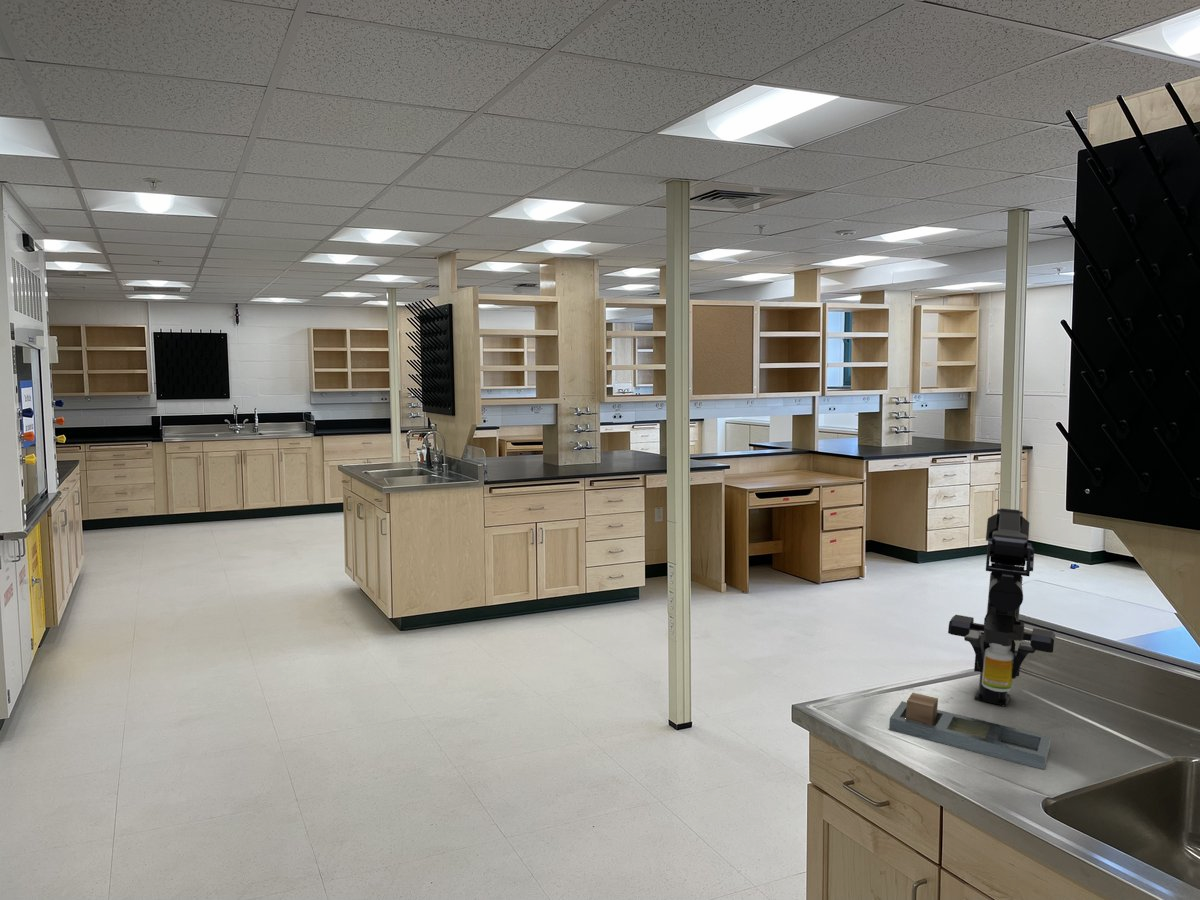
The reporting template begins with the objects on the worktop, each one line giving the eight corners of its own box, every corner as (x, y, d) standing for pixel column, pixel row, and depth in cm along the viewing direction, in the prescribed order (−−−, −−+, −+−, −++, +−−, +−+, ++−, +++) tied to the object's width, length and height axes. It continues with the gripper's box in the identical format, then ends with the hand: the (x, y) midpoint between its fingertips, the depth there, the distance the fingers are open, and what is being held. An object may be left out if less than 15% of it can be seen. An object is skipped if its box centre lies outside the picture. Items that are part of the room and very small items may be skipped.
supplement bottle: (1014, 693, 168) (1019, 645, 166) (985, 691, 168) (989, 643, 167) (1006, 683, 173) (1011, 636, 172) (978, 680, 174) (982, 634, 173)
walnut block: (910, 720, 179) (912, 692, 178) (935, 726, 176) (938, 698, 175) (904, 728, 174) (907, 700, 174) (930, 735, 172) (933, 706, 171)
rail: (900, 712, 182) (901, 701, 182) (1049, 749, 167) (1050, 736, 167) (889, 729, 174) (890, 717, 173) (1044, 769, 159) (1045, 756, 158)
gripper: (946, 599, 166) (940, 676, 168) (1055, 617, 157) (1047, 699, 159) (955, 586, 176) (949, 660, 178) (1058, 603, 167) (1051, 680, 168)
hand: (997, 674), depth 170 cm, fingers closed on supplement bottle, 5 cm apart
